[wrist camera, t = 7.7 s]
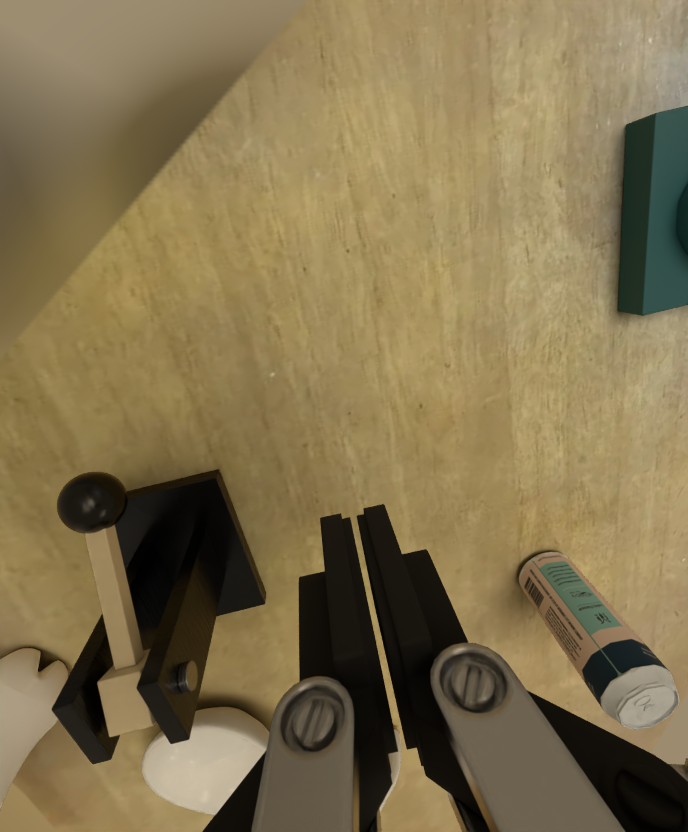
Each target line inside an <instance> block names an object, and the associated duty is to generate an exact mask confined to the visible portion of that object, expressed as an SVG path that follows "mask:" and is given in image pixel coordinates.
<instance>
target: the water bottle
mask: <svg viewBox="0 0 688 832" xmlns="http://www.w3.org/2000/svg"><path fill="white" fill-rule="evenodd" d="M39 661H40V651H38V650H36V649H31V648H23V649H19V650H17V651H14V652H12V653H10V654H8V655H7V656H5V657H3V658H2V659H1V658H0V809H1V807H2V804H3V801H4V799H5V797H6V795H7V793H8V791H9V788H10V786H11V784H12V782H13V780H14V778H15V776H16V775H17V773H18V771H19V769H20V768H21V766H22V764H23V763H24V761H25V759H26V758H27V756H28V755H29V753H30V752H31V750H32V749H33V748H34V746H35V745H36V744H37V743H38V741H39V740H40V739H41V738H42V737H43V736H44V735H45V733H46V732H47V731H48V730H50V729H51V728H52V727H53V726H54V725H55V723H56V722H57V720H58V718H57V717H56V716H55V714H54V713H53V712H52V710H51V709H52V707H53V705H54V703H55V701H56V699H57V697H58V696H59V694H60V692H61V690H62V688H63V686H64V684H65V682H66V681H67V679H68V671H67V669H66V666H65V665H64V663H62V662H61V661H59V660H57V661H55V662H53V663H51V664H50V665H49V666H47V667H46V668H45V669H43V670H42V671H41V672H38V667H39Z"/></svg>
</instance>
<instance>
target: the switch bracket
mask: <svg viewBox="0 0 688 832" xmlns="http://www.w3.org/2000/svg"><path fill="white" fill-rule="evenodd" d="M127 495H128V504H127V508H126V511H125V513H124V515H123V516H122V518H121V519H120V520H119V521H118V522H117V523H116V524H115V528H116V533H117V537H118V542H119V546H120V550H121V555H122V559H123V564H124V568H125V572H126V577H127V581H128V586H129V590H130V594H131V599H132V603H133V607H134V612H135V616H136V621H137V625H138V629H139V634H140V638H141V643H142V647H143V651H144V650H148V649H150V651H149V654H148V657H147V660H146V662H145V665H144V668H143V671H142V673H141V676H140V679H139V682H138V684H137V687H136V689H137V690H138V692H139V694H140V695H141V697H142V699H143V700H144V702H145V703H146V705H147V707H148V708H149V710H150V712H151V713H152V715H153V716H154V718H155V720H156V721H157V723H158V725H159V726H160V728H161V729H162V731H163V733H164V734H165V736H166V738H167V739H168V741H169V742H170V744H175V743H178V742H182V741H186V740H189V739H190V735H191V730H192V725H193V721H194V716H195V712H196V707H197V702H198V698H199V693H200V689H201V684H202V679H203V675H204V670H205V666H206V661H207V656H208V652H209V647H210V643H211V638H212V633H213V629H214V624H215V620H216V616H219V615H223V614H227V613H231V612H235V611H239V610H243V609H247V608H251V607H255V606H259V605H263V604H265V600H266V591H265V589H264V586H263V583H262V581H261V578H260V576H259V573H258V570H257V568H256V565H255V562H254V560H253V557H252V555H251V552H250V549H249V547H248V544H247V541H246V539H245V536H244V533H243V531H242V528H241V526H240V523H239V520H238V518H237V515H236V512H235V510H234V507H233V505H232V502H231V499H230V497H229V494H228V491H227V489H226V486H225V483H224V481H223V478H222V476H221V473H220V470H219V469H218V470H214V471H210V472H206V473H201V474H197V475H193V476H189V477H185V478H181V479H177V480H173V481H168V482H164V483H160V484H156V485H152V486H148V487H144V488H140V489H135V490H131V491H127ZM113 665H114V662H113V658H112V654H111V649H110V645H109V640H108V636H107V631H106V627H105V623H104V618H103V614H102V615H101V617H100V619H99V621H98V623H97V624H96V626H95V628H94V630H93V632H92V634H91V636H90V637H89V639H88V641H87V643H86V645H85V647H84V649H83V651H82V652H81V654H80V656H79V658H78V660H77V662H76V664H75V666H74V667H73V669H72V671H71V673H70V675H69V677H68V679H67V681H66V682H65V684H64V686H63V688H62V690H61V692H60V694H59V696H58V697H57V699H56V701H55V703H54V705H53V707H52V709H51V710H52V712H53V713H54V714H55V716H56V717H57V718H58V720H59V721H60V722H61V724H62V725H63V726H64V727H65V729H66V730H67V731H68V733H69V734H70V735H71V737H72V738H73V739H74V741H75V742H76V743H77V745H78V746H79V747H80V749H81V750H82V751H83V752H84V754H85V755H86V756H87V758H88V759H89V760H90V762H91V763H92V764H96V763H100V762H104V761H108V760H111V758H112V756H113V753H114V750H115V748H116V745H117V742H118V739H119V737H120V735H117V736H113V737H109V733H108V729H107V725H106V720H105V716H104V711H103V707H102V702H101V698H100V693H99V689H98V685H97V682H98V681H99V680H100V679H101V678H102V677H103V675H104V674H105V673H106V672H107V671H108V670H109V669H110V668H111V667H112V666H113Z"/></svg>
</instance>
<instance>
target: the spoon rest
mask: <svg viewBox="0 0 688 832" xmlns="http://www.w3.org/2000/svg"><path fill="white" fill-rule="evenodd" d="M394 733H395V737H396V742H397V747H398V752H394V753H390V754H388V755H389V761H390V766H391V772H392V773H391V778H392V783H393V784H392V786H391V787H390V789H389V791H388V793H387V795H386V797H385V799H384V801H383V802H382V804H381V806H380V808H379V809H380V812H381V810H382V808H383V806H384V804H385V802H386V799H387V798H388V797H389V795H390V794H391V792H392V790H393V789H394V787H395V784H396V782H397V778H398V775H399V771H400V764H401V739H400V733H399V730H397V729H394ZM269 734H270V732H269V731H268V730H267V729H266V728H265V726H264V725H263V724H262V723H260V722H259V721H258V720H256V719H255V718H254V717H252V716H250V715H249V714H247V713H246V712H244V711H242V710H240V709H237V708H233V707H215V708H207V709H202V710H198V711H196V712H195V716H194V721H193V725H192V730H191V735H190V739H189V740H186V741H182V742H178V743H175V744H170V742H169V741H168V739H167V738H166V736H165V734H164V733H163V731H161V732H160V733H159V734H158V735H157V736H156V737H155V738H154V739H153V740H152V741H151V743H150V744H149V746H148V747H147V749H146V751H145V753H144V756H143V759H142V773H143V776H144V779H145V781H146V783H147V784H148V786H149V787H150V788H151V789H152V790H153V791H154V792H155V793H156V794H157V795H159V796H160V797H161V798H163V799H165V800H166V801H168V802H171V803H173V804H175V805H177V806H180V807H183V808H186V809H190V810H193V811H197V812H202V813H207V814H213V815H216V814H217V812H218V811H219V810H220V809H221V807H222V806H223V805H224V803H225V802H226V801H227V800H228V798H229V797H230V796H231V795H232V793H233V792H234V791H235V789H236V788H237V787H238V786H239V784H240V783H241V782H242V780H243V779H244V778H245V777H246V775H247V774H248V773H249V772H250V770H251V769H252V768H253V766H254V765H255V764H256V763H257V761H258V760H259V759H260V757H261V756H262V755H263V754H264V752H265V751H266V750H267V744H268V739H269Z"/></svg>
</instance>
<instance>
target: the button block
mask: <svg viewBox="0 0 688 832" xmlns="http://www.w3.org/2000/svg"><path fill="white" fill-rule="evenodd" d="M685 305H688V106H685V107H681V108H676V109H672V110H667V111H663V112H659V113H655V114H652V115H650V116H647V117H645V118H642V119H639V120H637V121H634V122H632V123H629V124H627V125H626V143H625V166H624V189H623V212H622V235H621V258H620V281H619V303H618V311H620V312H626V313H631V314H636V315H642V316H643V315H647V314H651V313H656V312H660V311H664V310H668V309H672V308H677V307H681V306H685Z"/></svg>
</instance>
